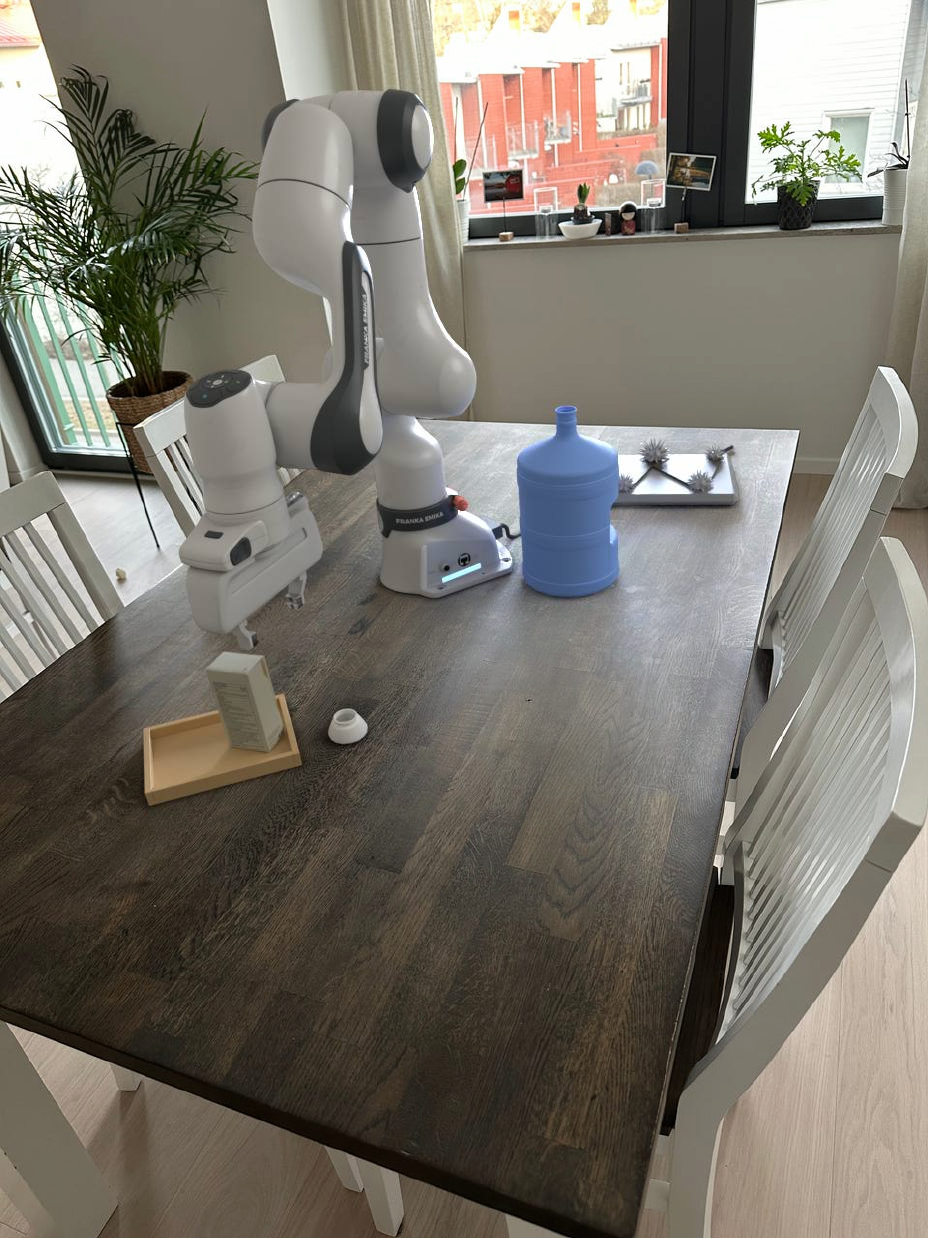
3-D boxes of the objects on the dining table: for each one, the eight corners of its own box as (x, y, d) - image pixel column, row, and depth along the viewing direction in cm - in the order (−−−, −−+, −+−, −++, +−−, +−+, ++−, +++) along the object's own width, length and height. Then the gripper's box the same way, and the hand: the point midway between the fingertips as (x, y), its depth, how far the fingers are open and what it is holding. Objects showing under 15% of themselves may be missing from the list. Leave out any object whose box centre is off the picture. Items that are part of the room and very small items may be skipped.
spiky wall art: (572, 509, 170) (571, 473, 166) (580, 465, 188) (579, 432, 184) (738, 508, 164) (741, 471, 161) (730, 463, 182) (732, 429, 178)
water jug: (561, 610, 139) (555, 436, 125) (504, 573, 151) (492, 409, 136) (639, 578, 146) (642, 408, 131) (578, 544, 157) (574, 385, 143)
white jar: (324, 729, 119) (335, 750, 115) (320, 711, 117) (332, 732, 113) (360, 717, 120) (373, 738, 116) (357, 699, 119) (369, 720, 115)
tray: (286, 705, 124) (283, 693, 123) (302, 765, 113) (299, 752, 112) (147, 740, 120) (143, 728, 119) (148, 806, 109) (144, 793, 108)
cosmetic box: (286, 733, 118) (267, 654, 111) (269, 754, 114) (249, 674, 108) (243, 726, 120) (223, 649, 114) (225, 746, 116) (203, 668, 110)
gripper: (281, 482, 110) (302, 581, 118) (166, 557, 95) (198, 666, 102) (324, 487, 108) (342, 588, 115) (213, 566, 93) (242, 677, 100)
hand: (273, 626), depth 109 cm, fingers open, 8 cm apart
